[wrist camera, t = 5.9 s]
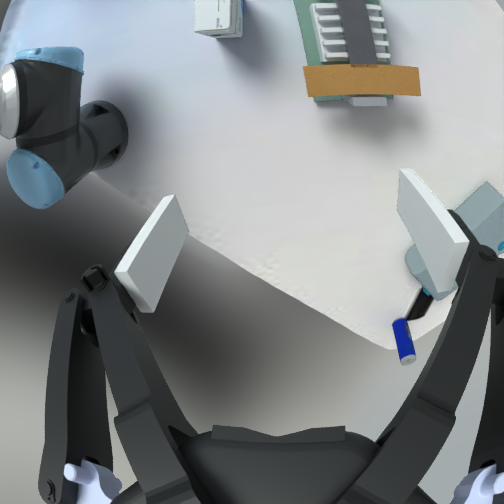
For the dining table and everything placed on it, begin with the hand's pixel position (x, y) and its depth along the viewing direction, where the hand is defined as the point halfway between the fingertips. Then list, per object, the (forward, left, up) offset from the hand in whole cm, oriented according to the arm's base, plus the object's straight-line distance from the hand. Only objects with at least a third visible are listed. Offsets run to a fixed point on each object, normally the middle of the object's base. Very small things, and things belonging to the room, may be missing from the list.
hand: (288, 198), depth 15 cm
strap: (+12, +12, -27) cm, 32 cm away
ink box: (-6, +18, -35) cm, 40 cm away
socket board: (+12, +12, -35) cm, 39 cm away
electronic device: (+40, -32, -35) cm, 62 cm away
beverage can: (+29, -66, -35) cm, 80 cm away
